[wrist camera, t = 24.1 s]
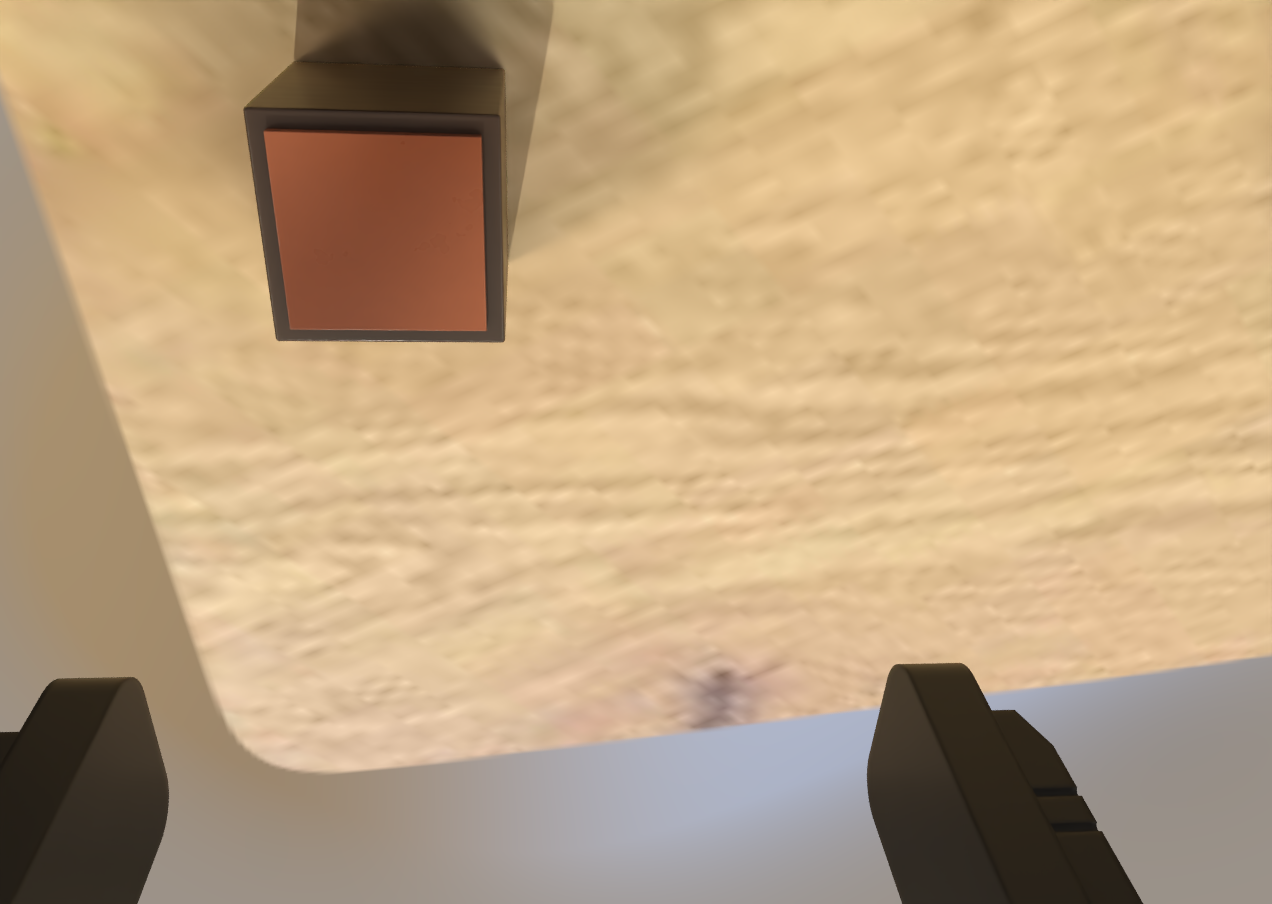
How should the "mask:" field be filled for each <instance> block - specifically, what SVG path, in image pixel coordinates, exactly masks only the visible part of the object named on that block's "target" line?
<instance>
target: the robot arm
mask: <svg viewBox="0 0 1272 904" xmlns="http://www.w3.org/2000/svg"><path fill="white" fill-rule="evenodd" d="M867 786H868V796H869V802H870V808H871V812H872V815H873V819H874V822H875V825H876V828H877V831H878V834H879V837H880V840H881V843H882V845H883V849H884V851H885V854H886V857H887V860H888V863H889V866H890V869H891V872H892V875H893V878H894V880H895V884H896V887H897V890H898V892H899V895H900V898H901V901H902V904H1143V903H1142V901H1141V899H1140V897H1139V896H1138V894H1137V892H1136V890H1135V889H1134V887H1133V885H1132V883H1131V882H1130V880H1129V878H1128V876H1127V875H1126V873H1125V871H1124V869H1123V867H1122V866H1121V864H1120V862H1119V860H1118V859H1117V857H1116V855H1115V853H1114V852H1113V850H1112V848H1111V846H1110V845H1109V843H1108V841H1107V839H1106V838H1105V836H1104V834H1103V832H1102V831H1098V830H1097V827H1096V823H1097V822H1096V820H1095V818H1094V816H1093V815H1092V813H1091V811H1090V810H1089V808H1088V806H1087V804H1086V802H1085V801H1084V799H1083V797H1082V796H1078V794H1077V787H1076V785H1075V783H1074V781H1073V780H1072V778H1071V776H1070V774H1069V772H1068V771H1067V769H1066V767H1065V766H1064V764H1063V762H1062V760H1061V758H1060V757H1059V755H1058V754H1057V752H1056V750H1055V748H1054V746H1053V745H1052V744H1051V743H1050V742H1049V741H1048V740H1047V739H1045V738H1044V737H1043V736H1042V735H1041V734H1040V733H1039V732H1038V731H1037V730H1036V729H1035V728H1034V727H1032V726H1031V725H1030V724H1029V723H1028V722H1027V721H1026V720H1025V719H1024V718H1023V717H1022V716H1021V715H1019V714H1018V713H1017V712H1016V711H1015V710H996V711H994V710H993V711H992V710H991V708H990V706H989V705H988V703H987V701H986V699H985V697H984V695H983V693H982V691H981V689H980V687H979V685H978V683H977V681H976V680H975V678H974V676H973V674H972V672H971V671H970V670H969V668H968V667H967V666H965V665H964V664H962V663H937V664H897V665H894V666H893V667H892V669H891V670H890V672H889V675H888V678H887V683H886V687H885V691H884V695H883V699H882V704H881V708H880V712H879V717H878V720H877V725H876V729H875V733H874V738H873V742H872V746H871V751H870V754H869V759H868V768H867ZM168 799H169V789H168V779H167V774H166V771H165V767H164V763H163V760H162V756H161V752H160V749H159V745H158V741H157V737H156V734H155V730H154V726H153V723H152V719H151V715H150V712H149V708H148V705H147V701H146V698H145V694H144V690H143V687H142V685H141V683H140V682H139V681H138V680H137V679H136V678H134V677H119V678H118V677H117V678H71V679H70V678H67V679H56V680H54V681H52V682H51V683H50V684H49V685H48V686H47V687H46V688H45V690H44V691H43V693H42V694H41V696H40V698H39V700H38V701H37V703H36V705H35V706H34V708H33V710H32V711H31V713H30V715H29V717H28V718H27V720H26V722H25V723H24V725H23V727H22V729H21V730H20V732H0V904H137V903H138V901H139V898H140V895H141V893H142V890H143V887H144V885H145V882H146V880H147V877H148V874H149V871H150V869H151V866H152V864H153V861H154V858H155V856H156V853H157V850H158V848H159V845H160V843H161V840H162V837H163V833H164V829H165V825H166V820H167V813H168V803H169V801H168Z"/></svg>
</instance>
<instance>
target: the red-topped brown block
mask: <svg viewBox="0 0 1272 904" xmlns="http://www.w3.org/2000/svg"><path fill="white" fill-rule="evenodd" d="M244 117H245V124H246V131H247V138H248V145H249V152H250V159H251V166H252V173H253V180H254V187H255V194H256V201H257V208H258V215H259V222H260V229H261V236H262V243H263V250H264V258H265V265H266V272H267V279H268V286H269V293H270V300H271V307H272V314H273V321H274V328H275V335H276V339H277V340H278V341H370V342H504V341H505V326H506V301H507V276H508V231H507V164H506V97H505V70H504V69H492V68H464V67H435V66H406V65H378V64H349V63H321V62H293V63H292V64H291V65H290V66H288V67H287V68H286V69H285V70H284V71H283V72H282V73H281V74H280V75H279V76H278V77H277V78H275V79H274V80H273V81H272V82H271V83H270V84H269V85H268V86H267V87H266V88H265V89H264V90H262V91H261V92H260V93H259V94H258V95H257V96H256V97H255V98H254V99H253V100H252V101H251V102H250V103H248V104H247V105H246V106H245V107H244Z"/></svg>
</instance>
